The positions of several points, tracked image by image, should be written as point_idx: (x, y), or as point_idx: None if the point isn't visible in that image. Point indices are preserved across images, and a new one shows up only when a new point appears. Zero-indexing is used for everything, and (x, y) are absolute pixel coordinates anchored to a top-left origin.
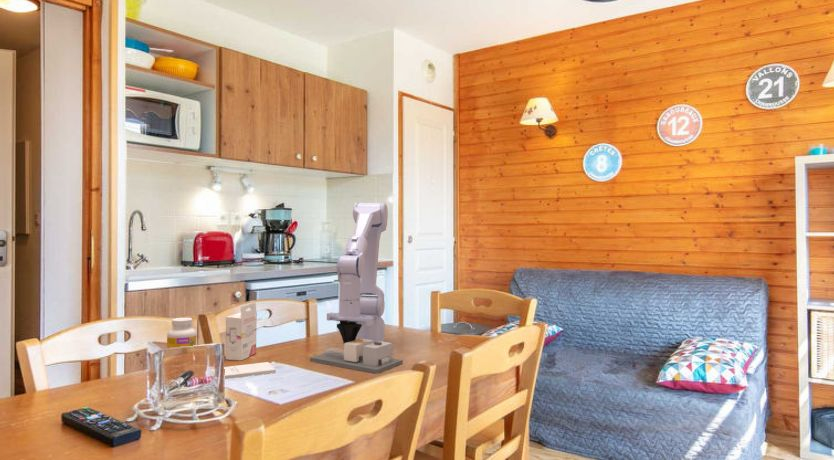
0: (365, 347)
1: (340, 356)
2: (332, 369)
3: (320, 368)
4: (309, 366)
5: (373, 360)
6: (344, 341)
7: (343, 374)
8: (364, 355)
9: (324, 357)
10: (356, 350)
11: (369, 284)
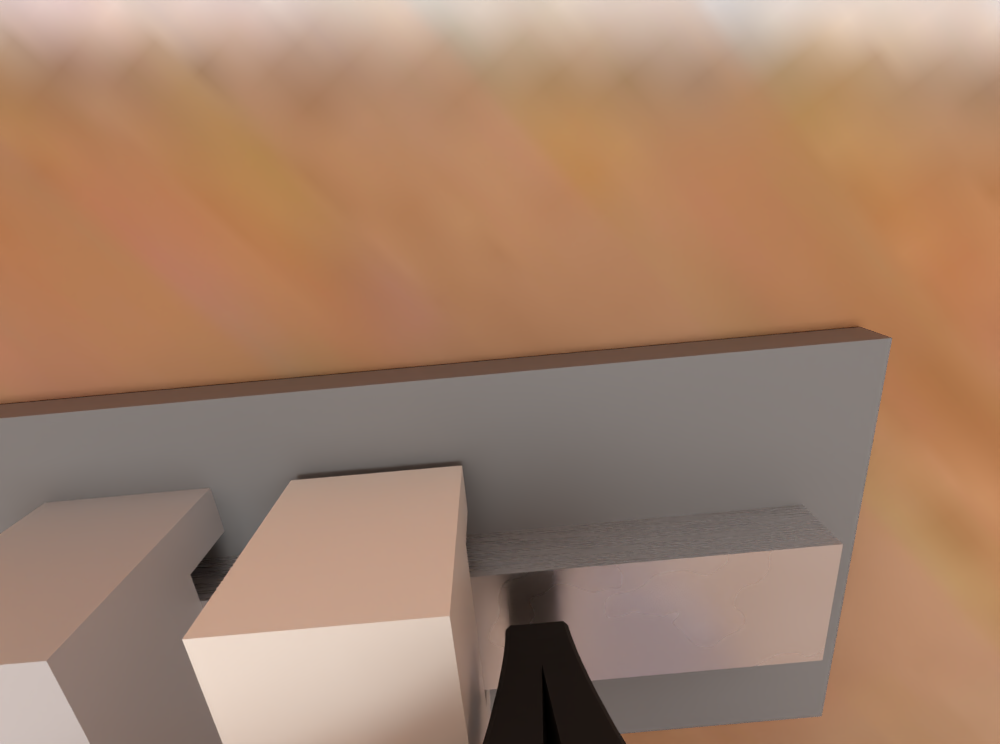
0: (10, 651)
1: (590, 534)
2: (424, 239)
3: (561, 179)
4: (728, 157)
5: (17, 540)
6: (574, 711)
7: (165, 161)
8: (124, 557)
9: (742, 436)
10: (232, 581)
11: None
